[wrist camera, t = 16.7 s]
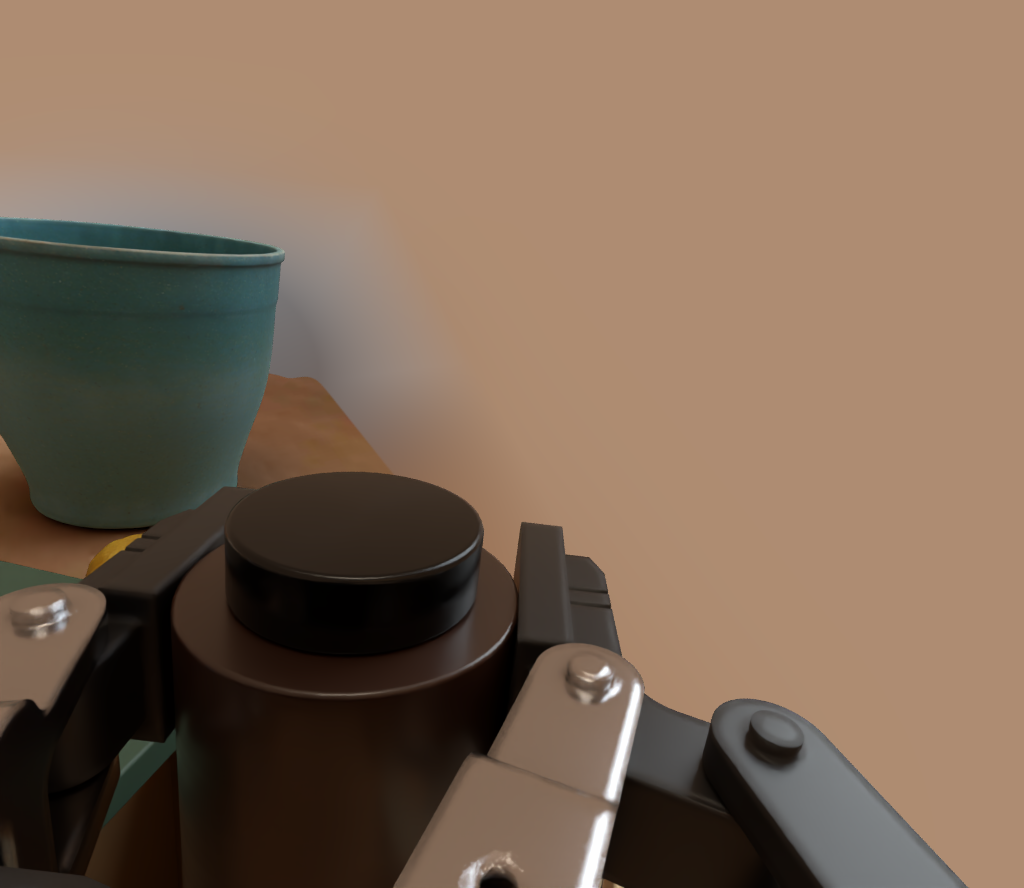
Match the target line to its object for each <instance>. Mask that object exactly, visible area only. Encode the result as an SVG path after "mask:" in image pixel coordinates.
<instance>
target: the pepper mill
mask: <svg viewBox="0 0 1024 888" xmlns="http://www.w3.org/2000/svg"><path fill="white" fill-rule="evenodd" d="M483 536H484V529H483V524H482V521H481V519H480V517H479V515H478V513H477V512H476V510H475V509H474V508H473V507H472V506H471V505H470V504H469V503H468V502H467V501H465V500H464V499H462V498H461V497H459V496H458V495H456V494H454V493H452V492H450V491H448V490H446V489H443V488H441V487H439V486H436V485H433V484H430V483H427V482H423V481H420V480H416V479H411V478H407V477H401V476H396V475H390V474H381V473H369V472H332V473H320V474H312V475H305V476H300V477H294V478H290V479H286V480H282V481H279V482H276V483H272V484H269V485H267V486H264V487H262V488H260V489H257V490H256V491H254V492H252V493H250V494H248V495H247V496H245V497H244V498H242V499H241V500H240V501H239V502H238V503H237V504H236V505H235V506H234V507H233V508H232V510H231V511H230V513H229V515H228V517H227V519H226V522H225V525H224V538H225V543H224V544H222V545H220V546H219V547H217V548H216V549H214V550H212V551H211V552H209V553H208V554H206V555H205V556H204V557H203V558H201V559H200V560H199V561H197V562H196V563H195V564H194V565H193V566H192V567H191V568H190V569H189V570H188V572H187V573H186V574H185V575H184V577H183V578H182V580H181V581H180V583H179V584H178V587H177V589H176V591H175V594H174V596H173V599H172V603H171V610H170V623H171V645H172V666H173V687H174V708H175V730H176V751H177V772H178V794H179V815H180V836H181V857H182V879H183V888H393V887H394V885H395V883H396V881H397V880H398V878H399V876H400V874H401V872H402V871H403V869H404V867H405V865H406V863H407V862H408V860H409V858H410V856H411V855H412V853H413V851H414V849H415V847H416V846H417V844H418V842H419V840H420V838H421V837H422V835H423V833H424V831H425V830H426V828H427V826H428V824H429V822H430V821H431V819H432V817H433V815H434V813H435V812H436V810H437V808H438V806H439V805H440V803H441V801H442V799H443V797H444V796H445V794H446V792H447V790H448V789H449V787H450V785H451V783H452V781H453V780H454V778H455V776H456V774H457V772H458V771H459V769H460V767H461V765H462V764H463V762H464V761H465V759H466V758H467V757H468V755H469V754H470V753H471V752H473V751H476V752H479V753H481V754H484V755H487V754H488V752H489V750H490V748H491V746H492V744H493V743H494V741H495V739H496V737H497V735H498V733H499V731H500V729H501V727H502V725H503V722H504V715H505V708H506V700H507V693H508V686H509V679H510V672H511V664H512V657H513V650H514V643H515V636H516V628H517V618H518V597H519V595H518V590H517V587H516V584H515V582H514V580H513V579H512V576H511V575H510V573H509V572H508V571H507V569H506V568H505V567H504V565H503V564H501V563H500V562H499V560H497V559H496V558H495V557H494V556H493V555H492V554H490V553H489V552H488V551H486V550H485V549H484V548H482V545H483Z"/></svg>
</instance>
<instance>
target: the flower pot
mask: <svg viewBox="0 0 1024 888" xmlns="http://www.w3.org/2000/svg"><path fill="white" fill-rule="evenodd" d="M284 255H285V253H284V251H283V250H282V249H281V248H278V247H275V246H272V245H267V244H262V243H257V242H252V241H246V240H240V239H233V238H226V237H218V236H211V235H202V234H195V233H186V232H178V231H169V230H160V229H151V228H141V227H132V226H122V225H112V224H100V223H88V222H74V221H61V220H47V219H28V218H8V217H0V434H1V436H2V437H3V439H4V441H5V442H6V444H7V446H8V447H9V449H10V451H11V452H12V454H13V456H14V458H15V459H16V461H17V463H18V464H19V466H20V468H21V470H22V472H23V474H24V476H25V478H26V480H27V483H28V485H29V489H30V499H31V501H32V504H33V505H34V507H35V508H36V509H37V510H38V511H39V512H40V513H42V514H43V515H45V516H47V517H49V518H51V519H53V520H56V521H59V522H62V523H66V524H70V525H75V526H81V527H90V528H102V529H124V528H141V527H149V526H154V525H155V524H157V523H158V522H159V521H160V520H163V519H165V518H168V517H170V516H173V515H176V514H178V513H181V512H183V511H186V510H188V509H193V510H195V509H196V508H198V507H199V506H200V505H201V504H203V503H204V502H205V501H206V500H208V499H209V498H210V497H211V496H213V495H214V494H215V493H216V492H218V491H219V490H220V489H221V488H223V487H225V486H229V487H237V471H238V465H239V462H240V458H241V455H242V452H243V450H244V447H245V444H246V441H247V438H248V435H249V432H250V430H251V427H252V425H253V422H254V420H255V417H256V415H257V412H258V409H259V407H260V404H261V401H262V398H263V394H264V391H265V387H266V383H267V379H268V374H269V368H270V361H271V355H272V354H271V353H272V345H273V334H274V321H275V309H276V303H277V300H278V290H279V278H280V266H281V262H283V261H284Z"/></svg>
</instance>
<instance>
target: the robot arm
mask: <svg viewBox="0 0 1024 888" xmlns="http://www.w3.org/2000/svg"><path fill="white" fill-rule="evenodd" d="M254 491H256V490H254V489H246V488H238V487H229V486H225V487H223V488H221V489H220V490H219V491H218V492H216V493H215V494H214V495H213V496H211V497H210V498H209V499H208V500H206V501H205V502H204V503H203V504H201V505H200V506H199V507H198V508H196V509H195V510H193V509H188V510H186V511H183V512H181V513H178V514H176V515H173V516H170V517H168V518H165V519H163V520H160V521H159V522H158V523H157V524H155V525H154V526H153V527H151V528H150V529H149V530H147V531H146V532H145V533H143V534H142V536H141V538H137V539H135V540H134V541H133V542H131V543H130V544H129V545H128V546H126V548H125V551H124V550H121V551H120V552H118V553H117V554H116V555H114V556H113V557H112V558H110V559H109V560H108V561H106V562H105V563H104V564H102V565H101V566H100V567H99V568H97V569H96V570H95V571H93V572H92V573H91V574H89V575H88V576H87V577H85V578H84V579H83V580H81V581H80V582H79V583H77V584H76V583H52V584H44V585H37V586H33V587H28V588H24V589H21V590H17V591H14V592H11V593H8V594H6V595H3V596H1V597H0V888H111V887H109V886H107V885H105V884H102V883H100V882H98V881H96V880H93V879H91V878H89V877H87V876H85V873H86V871H87V868H88V865H89V862H90V859H91V857H92V854H93V851H94V848H95V845H96V843H97V840H98V837H99V834H100V831H101V829H102V826H103V823H104V820H105V817H106V815H107V812H108V809H109V806H110V803H111V801H112V798H113V795H114V792H115V789H116V787H117V784H118V781H119V777H120V760H119V752H120V751H121V750H122V749H123V747H124V746H125V745H126V744H127V742H128V741H129V740H130V739H133V740H141V741H150V742H158V743H165V741H166V740H167V739H168V737H169V736H170V734H171V733H172V732H173V730H174V729H175V708H174V687H173V666H172V645H171V623H170V610H171V603H172V599H173V596H174V594H175V591H176V589H177V587H178V584H179V583H180V581H181V580H182V578H183V577H184V575H185V574H186V573H187V572H188V570H189V569H190V568H191V567H192V566H193V565H194V564H195V563H196V562H197V561H199V560H200V559H201V558H203V557H204V556H205V555H206V554H208V553H209V552H211V551H212V550H214V549H216V548H217V547H219V546H220V545H222V544H224V543H225V538H224V525H225V522H226V519H227V517H228V515H229V513H230V511H231V510H232V508H233V507H234V506H235V505H236V504H237V503H238V502H239V501H240V500H241V499H242V498H244V497H245V496H247V495H248V494H250V493H252V492H254ZM514 582H515V584H516V587H517V590H518V595H519V597H518V618H517V628H516V636H515V643H514V650H513V657H512V664H511V672H510V679H509V686H508V693H507V700H506V708H505V715H504V722H503V725H502V727H501V729H500V731H499V733H498V735H497V737H496V739H495V741H494V743H493V744H492V746H491V748H490V750H489V752H488V754H487V755H484V754H481V753H479V752H476V751H473V752H471V753H470V754H469V755H468V757H467V758H466V759H465V761H464V762H463V764H462V765H461V767H460V769H459V771H458V772H457V774H456V776H455V778H454V780H453V781H452V783H451V785H450V787H449V789H448V790H447V792H446V794H445V796H444V797H443V799H442V801H441V803H440V805H439V806H438V808H437V810H436V812H435V813H434V815H433V817H432V819H431V821H430V822H429V824H428V826H427V828H426V830H425V831H424V833H423V835H422V837H421V838H420V840H419V842H418V844H417V846H416V847H415V849H414V851H413V853H412V855H411V856H410V858H409V860H408V862H407V863H406V865H405V867H404V869H403V871H402V872H401V874H400V876H399V878H398V880H397V881H396V883H395V885H394V887H393V888H602V886H603V881H604V879H606V880H608V881H610V882H612V883H615V884H617V885H619V886H621V887H624V888H968V887H967V886H966V885H965V884H964V883H963V882H962V881H961V880H960V879H959V877H958V876H957V875H956V874H955V873H954V872H953V871H952V870H951V869H950V868H949V867H948V866H947V865H946V864H945V863H944V861H943V860H942V859H941V858H940V857H939V856H938V855H937V854H936V853H935V852H934V851H933V850H932V849H931V848H930V847H929V846H928V845H927V843H926V842H925V841H924V840H923V839H922V838H921V837H920V836H919V835H918V834H917V833H916V832H915V831H914V830H913V829H912V828H911V827H910V825H909V824H908V823H907V822H906V821H905V820H904V819H903V818H902V817H901V816H900V815H899V814H898V813H897V812H896V811H895V810H894V808H893V807H892V806H891V805H890V804H889V803H888V802H887V801H886V800H885V799H884V798H883V797H882V796H881V795H880V794H879V793H878V791H877V790H876V789H875V788H874V787H873V786H872V785H871V784H870V783H869V782H868V781H867V780H866V779H865V778H864V777H863V776H862V774H861V773H860V772H859V771H858V770H857V769H856V768H855V767H854V766H853V765H852V764H851V763H850V762H849V761H848V760H847V759H846V757H844V755H843V754H842V753H841V752H840V751H839V750H838V749H837V748H836V747H835V746H834V745H833V744H832V743H831V742H830V741H829V740H828V739H827V737H826V736H825V735H824V734H823V733H822V732H821V731H820V730H819V729H817V728H816V727H815V726H814V725H813V724H811V723H810V722H809V721H807V720H806V719H804V718H803V717H801V716H799V715H798V714H796V713H794V712H792V711H790V710H788V709H786V708H784V707H781V706H779V705H776V704H773V703H769V702H766V701H761V700H756V699H735V700H730V701H728V702H725V703H723V704H722V705H720V706H719V707H718V708H717V709H716V710H715V711H714V714H713V716H712V719H711V723H709V722H706V721H703V720H700V719H697V718H694V717H692V716H689V715H686V714H683V713H680V712H677V711H675V710H672V709H670V708H667V707H665V706H663V705H662V704H659V703H658V702H656V701H654V700H653V699H651V698H650V697H648V696H647V695H646V694H645V693H644V689H645V687H644V682H643V680H642V677H641V675H640V674H639V672H638V671H637V669H636V668H635V667H634V666H633V665H632V664H631V663H630V662H628V661H627V660H626V659H625V658H623V657H622V654H621V649H620V645H619V640H618V635H617V631H616V626H615V621H614V617H613V613H612V609H611V603H610V598H609V595H608V589H607V584H606V579H605V575H604V573H603V572H602V571H601V570H600V568H599V567H598V566H597V565H596V564H595V563H594V562H593V561H592V560H591V559H590V558H589V557H582V556H574V555H565V549H564V539H563V530H562V527H560V526H551V525H543V524H535V523H526V522H522V523H521V528H520V535H519V542H518V549H517V557H516V564H515V572H514Z"/></svg>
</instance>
